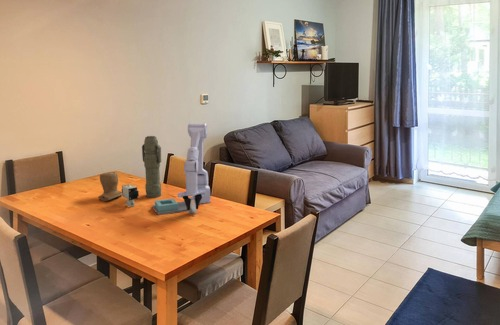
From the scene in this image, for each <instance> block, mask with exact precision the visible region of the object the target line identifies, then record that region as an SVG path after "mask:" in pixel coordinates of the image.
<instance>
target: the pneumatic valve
mask: <svg viewBox="0 0 500 325" xmlns="http://www.w3.org/2000/svg"><path fill="white" fill-rule="evenodd" d="M121 192H122V194H123V195H122V197H123V198H125V199H126V200H125V202H126V206H127V208H128V207H129V208H130V207H135V206H136V203H135V200H138V199H139V190H138V187H137V186H136V185H132V184H130V183H129V184H123V185H121Z"/></svg>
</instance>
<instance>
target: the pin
mask: <svg viewBox="0 0 500 325" xmlns="http://www.w3.org/2000/svg"><path fill="white" fill-rule="evenodd" d="M188 197H189V211H188V214H189V215H196V214H197V212H198V211H197V209H196V197H193V196H188Z"/></svg>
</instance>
